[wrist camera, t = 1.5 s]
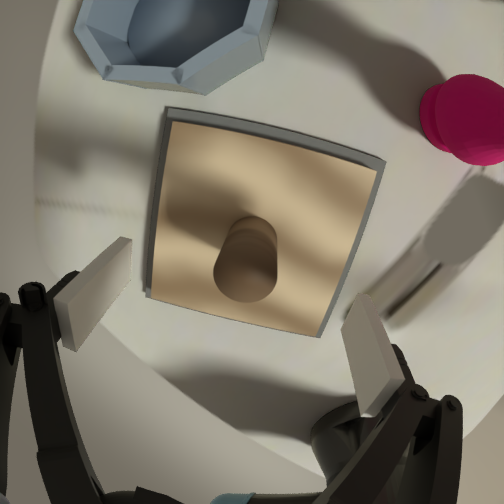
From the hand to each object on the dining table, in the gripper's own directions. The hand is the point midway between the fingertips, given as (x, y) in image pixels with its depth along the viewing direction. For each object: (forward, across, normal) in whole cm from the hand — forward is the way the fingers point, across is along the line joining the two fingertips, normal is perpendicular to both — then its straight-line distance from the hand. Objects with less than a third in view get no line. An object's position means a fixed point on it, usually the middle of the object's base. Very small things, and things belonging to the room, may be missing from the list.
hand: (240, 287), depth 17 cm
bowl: (+10, +9, -16) cm, 21 cm away
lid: (+9, 0, 0) cm, 9 cm away
